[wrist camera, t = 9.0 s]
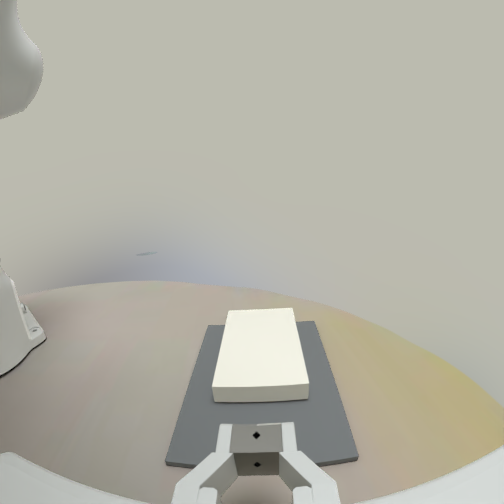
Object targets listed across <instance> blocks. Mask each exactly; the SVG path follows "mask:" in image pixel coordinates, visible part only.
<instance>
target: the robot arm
mask: <svg viewBox="0 0 504 504" xmlns="http://www.w3.org/2000/svg"><path fill="white" fill-rule="evenodd" d="M42 75H43V59H42V56H41V53H40V50H39V49H38V47H37V46H36V44H35V43H34V42H33V41H31V40H30V39H29V37H28V36H27V35H26V34H25V32H24V30H23V28H22V26H21V24H20V21H19V18H18V13H17V0H0V119H2V118H5V117H8V116H11V115H14V114H17V113H19V112H22V111H24V110H25V108H27V106H28V105H29V104H30V102H31V101H32V100H33V98H34V97H35V95H36V93H37V91H38V89H39V86H40V83H41V79H42ZM45 339H46V335H45V333H44V331H43V329H42V328H41V326H40V325H39V323H38V322H37V320H36V319H35V318H34V316H33V315H32V313H31V312H30V310H29V309H28V307H27V306H26V305H25V304H23V303H20V302H19V299H18V295H17V292H16V288H15V284H14V281H13V280H10V277H9V276H7V275H6V274H5V272H4V271H3V269H2V268H1V266H0V375H2V374H4V373H5V372H7V371H9V370H10V369H12V368H13V367H14V366H16V365H17V364H18V363H19V362H20V361H21V360H22V359H23V358H24V357H25V356H26V355H27V353H28V352H29V351H30V350H31V349H32V348H34V347H35V346H37V345H38V344H40V343H41V342H42V341H44V340H45ZM251 475H279V476H280V478H281V479H282V480H283V481H284V482H285V484H286V485H287V486H288V487H289V488H290V490H291V491H292V492H293V494H292V503H291V504H340V499H339V494H338V489H337V485H336V481H335V480H333V479H332V478H331V477H330V476H329V475H327V474H326V473H325V472H324V471H323V470H322V469H321V468H319V467H318V466H317V465H316V464H315V463H314V462H313V461H312V460H310V459H309V458H308V457H307V456H306V455H305V454H304V453H303V452H302V451H297V444H296V435H295V427H294V423H293V422H285V423H266V424H220V426H219V433H218V439H217V445H216V452H212V453H211V454H210V455H209V456H207V457H206V458H205V459H204V460H203V461H202V462H201V463H200V464H198V465H197V466H196V467H195V468H194V469H193V470H192V471H190V472H189V473H188V474H187V475H186V476H184V477H183V478H182V479H181V480H180V481H178V482H177V483H176V486H175V490H174V494H173V498H172V502H171V504H222V502H221V499H220V497H221V496H222V495H223V494H224V493H225V491H226V490H227V489H228V488H229V487H230V486H231V484H232V483H233V482H234V481H235V480H236V478H237V477H238V476H251ZM0 504H152V503H147V502H142V501H138V500H134V499H130V498H126V497H122V496H118V495H115V494H111V493H108V492H105V491H101V490H98V489H95V488H92V487H89V486H86V485H84V484H81V483H78V482H76V481H73V480H70V479H68V478H65V477H63V476H61V475H58V474H56V473H54V472H51V471H49V470H47V469H45V468H43V467H40V466H38V465H36V464H34V463H32V462H30V461H28V460H26V459H25V458H23V457H21V456H19V455H17V454H15V453H13V452H5V453H1V454H0ZM352 504H504V445H503V446H501V447H499V448H498V449H496V450H494V451H492V452H491V453H489V454H487V455H485V456H483V457H481V458H480V459H478V460H476V461H474V462H472V463H470V464H468V465H466V466H464V467H461V468H459V469H457V470H455V471H453V472H450V473H448V474H446V475H443V476H441V477H439V478H436V479H434V480H431V481H428V482H426V483H423V484H420V485H417V486H415V487H412V488H409V489H406V490H402V491H399V492H396V493H393V494H389V495H386V496H382V497H378V498H374V499H370V500H366V501H362V502H357V503H352Z"/></svg>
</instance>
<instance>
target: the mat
mask: <svg viewBox="0 0 504 504" xmlns="http://www.w3.org/2000/svg"><path fill="white" fill-rule="evenodd" d="M296 326H297V331H298V335H299V339H300V344H301V348H302V353H303V357H304V362H305V366H306V371H307V375H308V380H309V394H308V399H300V400H287V401H268V402H215V401H214V396H213V391H212V383H213V379H214V374H215V370H216V365H217V361H218V356H219V352H220V347H221V343H222V338H223V334H224V329H225V325H208V328H207V331H206V334H205V337H204V340H203V343H202V346H201V349H200V352H199V355H198V358H197V361H196V364H195V367H194V370H193V373H192V377H191V380H190V383H189V386H188V389H187V392H186V395H185V398H184V402H183V405H182V408H181V411H180V414H179V417H178V421H177V424H176V427H175V430H174V433H173V437H172V440H171V443H170V446H169V450H168V453H167V456H166V459H165V462H166V464H167V465H170V466H178V467H187V468H195V467H196V466H197V465H198V464H200V463H201V462H202V461H203V460H204V459H205V458H206V457H207V456H209V455H210V454H211V453H212V452H216V445H217V439H218V433H219V426H220V424H266V423H285V422H293V423H294V427H295V435H296V444H297V451H302V452H303V453H304V454H305V455H306V456H307V457H308V458H309V459H310V460H312V461H313V462H314V463H315V464H316V465H317V466H325V465H332V464H339V463H345V462H351V461H356V460H357V459H358V457H359V456H358V452H357V449H356V446H355V443H354V439H353V436H352V433H351V430H350V426H349V423H348V420H347V417H346V414H345V411H344V407H343V404H342V401H341V398H340V395H339V392H338V389H337V386H336V383H335V380H334V377H333V374H332V371H331V368H330V365H329V362H328V359H327V356H326V353H325V350H324V348H323V345H322V342H321V339H320V336H319V333H318V330H317V328H316V325H315V322H314V321H304V322H296Z"/></svg>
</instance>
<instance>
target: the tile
mask: <svg viewBox="0 0 504 504" xmlns="http://www.w3.org/2000/svg"><path fill="white" fill-rule="evenodd" d="M212 391H213V396H214V401H215V402H268V401H287V400H300V399H308V394H309V380H308V375H307V371H306V366H305V362H304V357H303V353H302V348H301V344H300V339H299V335H298V331H297V326H296V322H295V318H294V313H293V309H292V308H279V309H258V310H230V311H228V316H227V320H226V325H225V329H224V334H223V338H222V343H221V347H220V352H219V356H218V361H217V365H216V370H215V374H214V379H213V383H212Z"/></svg>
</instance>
